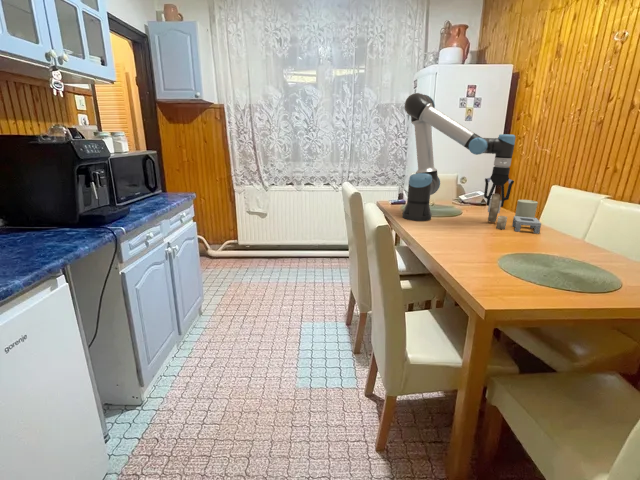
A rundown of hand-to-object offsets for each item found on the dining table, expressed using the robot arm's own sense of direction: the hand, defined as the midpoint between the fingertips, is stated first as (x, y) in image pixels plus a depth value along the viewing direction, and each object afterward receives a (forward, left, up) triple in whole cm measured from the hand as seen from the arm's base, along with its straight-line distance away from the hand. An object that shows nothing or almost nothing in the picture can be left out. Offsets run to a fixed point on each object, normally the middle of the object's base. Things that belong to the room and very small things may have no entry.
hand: (493, 212), depth 180 cm
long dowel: (0, 0, -5) cm, 5 cm away
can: (+16, +7, -6) cm, 18 cm away
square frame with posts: (+14, -8, -6) cm, 17 cm away
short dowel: (+3, -11, -6) cm, 13 cm away
